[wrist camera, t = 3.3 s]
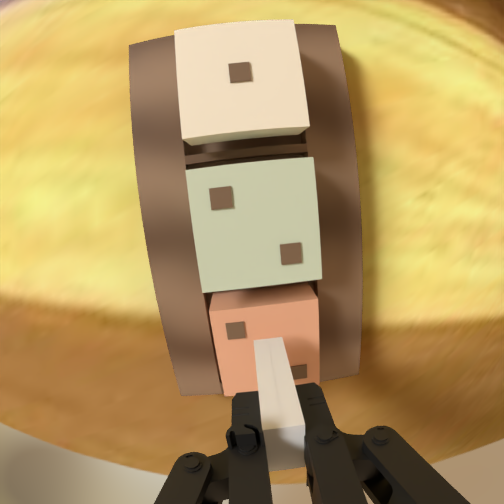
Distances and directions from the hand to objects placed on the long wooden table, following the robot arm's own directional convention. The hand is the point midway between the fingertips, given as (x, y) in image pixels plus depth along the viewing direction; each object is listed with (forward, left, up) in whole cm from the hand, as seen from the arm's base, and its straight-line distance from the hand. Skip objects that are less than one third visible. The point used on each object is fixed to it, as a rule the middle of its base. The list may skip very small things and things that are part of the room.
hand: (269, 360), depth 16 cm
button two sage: (-7, 0, -3) cm, 8 cm away
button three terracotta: (0, 0, -4) cm, 4 cm away
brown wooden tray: (-7, 0, -6) cm, 9 cm away
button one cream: (-15, 0, -3) cm, 15 cm away
